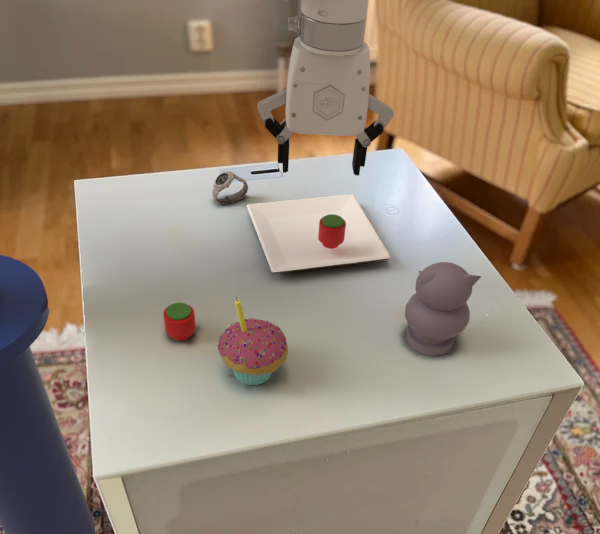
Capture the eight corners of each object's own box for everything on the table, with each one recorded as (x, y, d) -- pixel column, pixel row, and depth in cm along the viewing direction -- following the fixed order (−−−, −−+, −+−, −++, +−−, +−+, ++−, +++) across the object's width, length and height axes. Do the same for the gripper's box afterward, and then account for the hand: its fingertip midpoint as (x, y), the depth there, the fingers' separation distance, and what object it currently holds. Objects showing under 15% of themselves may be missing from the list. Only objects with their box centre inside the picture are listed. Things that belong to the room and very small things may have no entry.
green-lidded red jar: (173, 348, 84) (170, 324, 81) (161, 330, 86) (157, 306, 83) (201, 338, 86) (199, 314, 82) (188, 321, 88) (186, 297, 85)
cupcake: (213, 390, 79) (207, 317, 70) (227, 344, 85) (224, 271, 76) (281, 400, 79) (284, 327, 70) (291, 353, 84) (295, 280, 76)
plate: (352, 203, 110) (353, 192, 108) (389, 267, 98) (391, 256, 97) (246, 214, 106) (246, 203, 105) (271, 282, 94) (272, 271, 93)
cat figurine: (456, 322, 90) (478, 251, 81) (465, 361, 85) (489, 289, 76) (397, 319, 90) (412, 247, 81) (401, 357, 85) (418, 285, 76)
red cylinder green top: (318, 251, 97) (320, 227, 93) (317, 236, 99) (319, 212, 96) (344, 252, 97) (347, 228, 94) (342, 237, 99) (345, 213, 96)
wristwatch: (210, 199, 109) (208, 172, 105) (243, 192, 111) (242, 165, 107) (218, 209, 107) (216, 182, 103) (251, 202, 109) (251, 174, 105)
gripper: (257, 38, 71) (256, 180, 84) (410, 46, 72) (386, 185, 85) (258, 16, 76) (257, 153, 89) (401, 23, 77) (380, 158, 90)
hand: (320, 169), depth 87 cm, fingers open, 9 cm apart
